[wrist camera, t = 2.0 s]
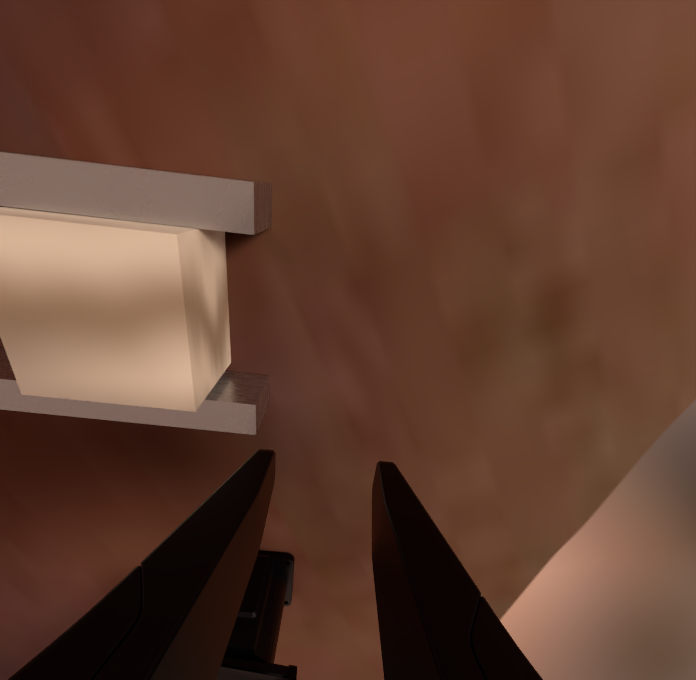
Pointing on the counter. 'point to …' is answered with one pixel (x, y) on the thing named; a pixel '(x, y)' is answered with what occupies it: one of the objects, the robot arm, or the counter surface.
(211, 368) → the block
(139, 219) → the chute
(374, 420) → the counter surface
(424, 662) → the robot arm
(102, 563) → the counter surface
